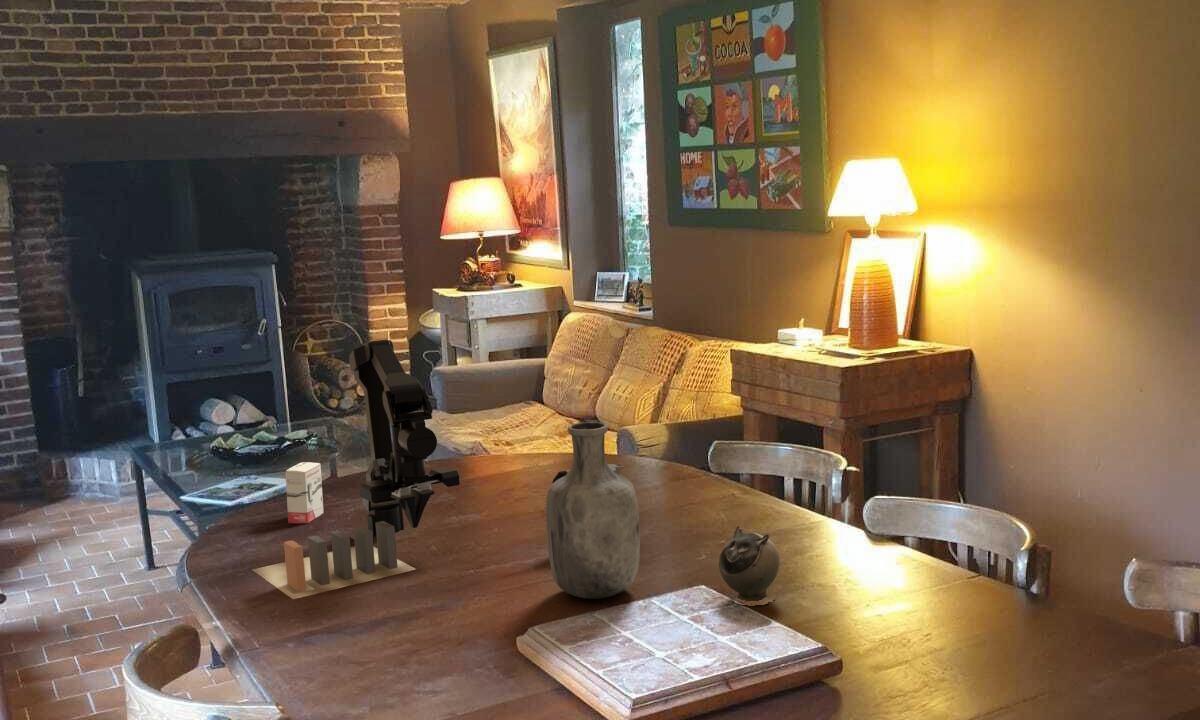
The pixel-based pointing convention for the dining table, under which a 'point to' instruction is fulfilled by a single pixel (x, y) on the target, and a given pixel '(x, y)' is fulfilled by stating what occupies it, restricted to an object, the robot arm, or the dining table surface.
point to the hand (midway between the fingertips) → (414, 527)
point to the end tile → (295, 565)
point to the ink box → (304, 492)
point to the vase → (592, 521)
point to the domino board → (279, 576)
